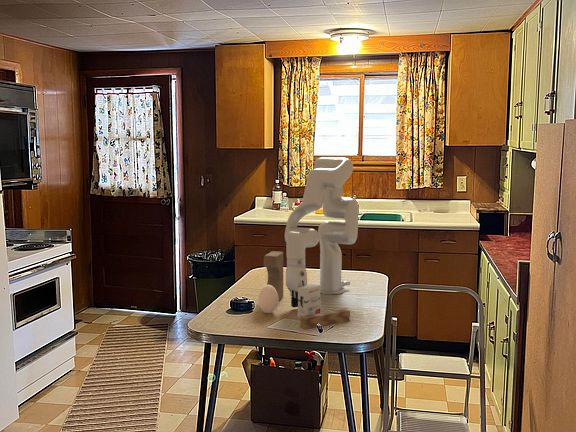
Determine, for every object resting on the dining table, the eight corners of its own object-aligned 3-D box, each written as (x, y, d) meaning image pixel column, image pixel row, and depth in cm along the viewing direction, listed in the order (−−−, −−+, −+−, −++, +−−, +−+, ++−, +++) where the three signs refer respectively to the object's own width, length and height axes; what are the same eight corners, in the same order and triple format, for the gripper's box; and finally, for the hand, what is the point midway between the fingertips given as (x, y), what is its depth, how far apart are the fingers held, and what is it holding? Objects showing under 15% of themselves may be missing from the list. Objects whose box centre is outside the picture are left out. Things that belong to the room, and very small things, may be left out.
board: (345, 318, 231) (345, 308, 230) (349, 320, 228) (349, 310, 228) (300, 326, 221) (300, 316, 220) (304, 329, 218) (304, 318, 218)
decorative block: (276, 303, 251) (275, 256, 248) (263, 302, 253) (262, 255, 250) (284, 297, 262) (284, 251, 259) (271, 295, 263) (271, 250, 261)
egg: (263, 317, 233) (263, 288, 231) (255, 311, 240) (254, 283, 238) (282, 314, 236) (282, 285, 235) (273, 309, 243) (273, 281, 242)
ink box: (310, 312, 239) (311, 283, 238) (320, 314, 236) (321, 285, 235) (297, 317, 233) (297, 287, 231) (307, 319, 230) (307, 289, 228)
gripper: (313, 264, 236) (313, 309, 239) (294, 257, 249) (294, 300, 251) (297, 266, 232) (297, 312, 235) (278, 259, 245) (278, 303, 248)
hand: (295, 306), depth 243 cm, fingers closed
